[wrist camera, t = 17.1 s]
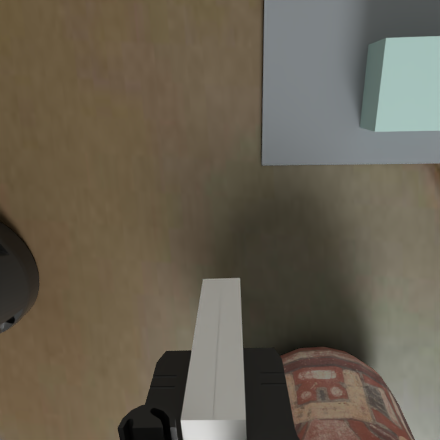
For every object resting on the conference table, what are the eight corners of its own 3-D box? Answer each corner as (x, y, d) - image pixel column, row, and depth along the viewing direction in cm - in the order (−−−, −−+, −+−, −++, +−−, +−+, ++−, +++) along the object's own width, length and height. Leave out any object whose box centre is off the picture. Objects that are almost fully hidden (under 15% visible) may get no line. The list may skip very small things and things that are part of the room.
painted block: (374, 131, 29) (488, 129, 29) (385, 37, 27) (509, 33, 26) (359, 127, 33) (459, 125, 33) (368, 44, 31) (476, 41, 30)
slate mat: (261, 164, 35) (261, 165, 35) (264, -24, 30) (264, -25, 30) (470, 162, 34) (473, 162, 34) (513, -36, 29) (516, -37, 28)
